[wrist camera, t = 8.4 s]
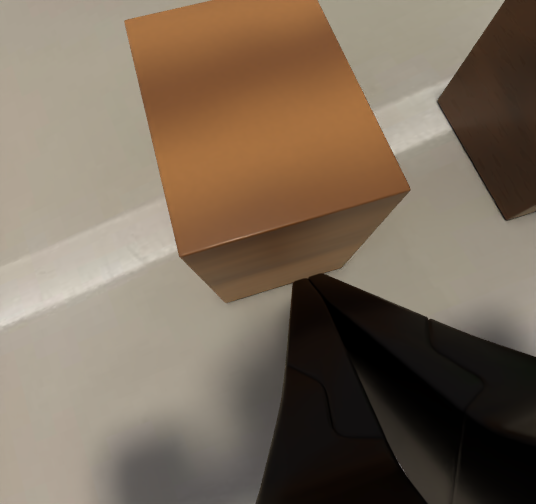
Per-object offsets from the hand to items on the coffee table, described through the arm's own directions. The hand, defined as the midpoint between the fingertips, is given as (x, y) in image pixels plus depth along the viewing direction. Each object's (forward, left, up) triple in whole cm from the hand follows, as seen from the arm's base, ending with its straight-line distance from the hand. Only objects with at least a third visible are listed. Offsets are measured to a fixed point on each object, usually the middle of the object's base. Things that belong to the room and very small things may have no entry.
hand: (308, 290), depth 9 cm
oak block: (+5, -2, -6) cm, 8 cm away
